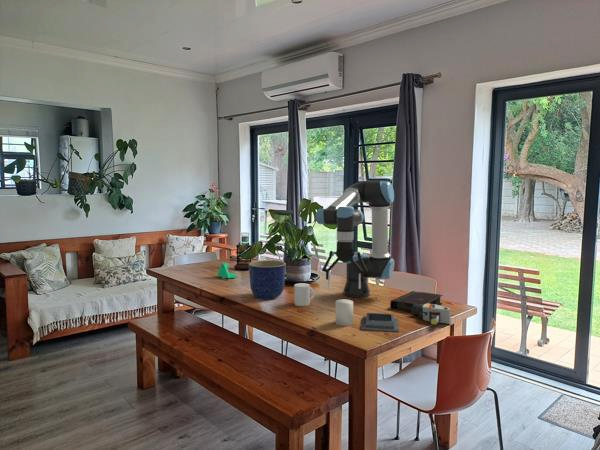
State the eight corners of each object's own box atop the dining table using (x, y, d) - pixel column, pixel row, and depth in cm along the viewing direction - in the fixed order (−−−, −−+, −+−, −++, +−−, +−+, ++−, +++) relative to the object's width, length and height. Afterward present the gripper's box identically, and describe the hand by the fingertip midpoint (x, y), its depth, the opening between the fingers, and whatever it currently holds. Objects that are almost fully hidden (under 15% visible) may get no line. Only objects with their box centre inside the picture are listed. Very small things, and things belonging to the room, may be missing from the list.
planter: (292, 298, 242) (292, 264, 241) (258, 303, 232) (258, 268, 230) (275, 290, 260) (275, 259, 258) (243, 295, 250) (242, 262, 248)
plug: (336, 319, 204) (336, 298, 203) (353, 320, 203) (353, 299, 202) (334, 325, 197) (334, 303, 196) (352, 326, 195) (352, 304, 194)
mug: (291, 284, 231) (309, 281, 238) (291, 303, 232) (309, 300, 239) (299, 287, 224) (318, 284, 231) (299, 307, 225) (318, 303, 232)
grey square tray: (362, 318, 206) (362, 311, 206) (397, 320, 203) (397, 313, 203) (361, 329, 191) (361, 321, 190) (398, 331, 188) (399, 323, 187)
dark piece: (256, 267, 332) (255, 241, 330) (251, 271, 318) (251, 244, 316) (237, 267, 334) (236, 241, 332) (231, 270, 320) (231, 243, 318)
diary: (389, 309, 223) (389, 299, 223) (411, 299, 242) (411, 290, 242) (424, 315, 211) (424, 305, 211) (444, 304, 231) (444, 295, 230)
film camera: (400, 321, 205) (419, 314, 214) (436, 330, 190) (455, 322, 199) (399, 306, 204) (418, 300, 214) (436, 314, 189) (454, 307, 199)
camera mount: (237, 278, 295) (237, 263, 294) (228, 280, 290) (227, 264, 289) (226, 275, 304) (226, 261, 303) (217, 277, 298) (217, 262, 297)
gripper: (316, 241, 195) (315, 288, 196) (373, 242, 190) (372, 290, 192) (318, 239, 202) (318, 284, 204) (373, 240, 198) (372, 286, 200)
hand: (344, 287), depth 198 cm, fingers open, 13 cm apart
